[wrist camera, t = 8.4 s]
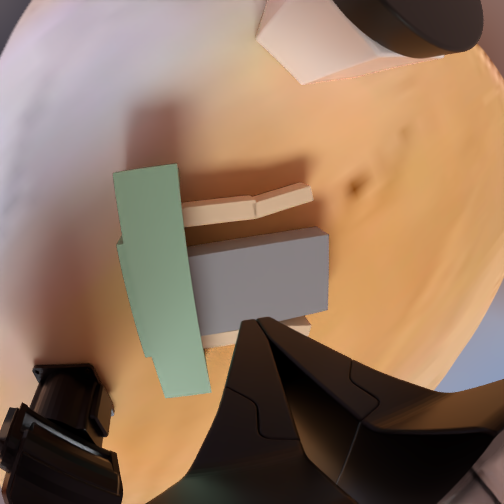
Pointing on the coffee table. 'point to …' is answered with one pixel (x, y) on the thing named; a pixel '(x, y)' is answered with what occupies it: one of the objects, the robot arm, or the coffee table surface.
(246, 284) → the slate tile
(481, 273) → the coffee table surface
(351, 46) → the jar
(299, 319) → the dock
